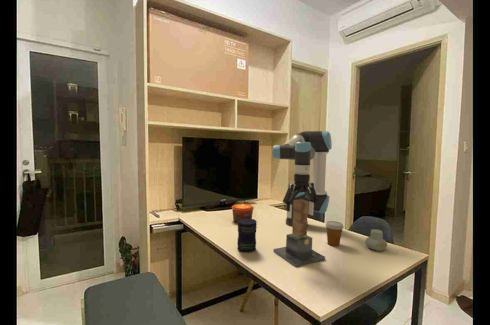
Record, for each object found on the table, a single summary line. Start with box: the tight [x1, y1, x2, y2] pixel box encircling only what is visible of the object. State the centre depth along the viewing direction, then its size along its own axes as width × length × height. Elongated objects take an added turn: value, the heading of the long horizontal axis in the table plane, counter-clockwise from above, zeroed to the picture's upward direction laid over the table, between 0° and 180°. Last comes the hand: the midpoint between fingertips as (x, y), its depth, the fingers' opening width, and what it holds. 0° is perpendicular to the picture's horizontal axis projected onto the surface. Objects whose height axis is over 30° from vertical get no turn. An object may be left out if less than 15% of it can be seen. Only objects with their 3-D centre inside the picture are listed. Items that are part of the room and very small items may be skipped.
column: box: [291, 199, 309, 239], centre depth 128 cm, size 5×5×20 cm
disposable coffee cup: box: [325, 220, 344, 247], centre depth 145 cm, size 10×10×12 cm
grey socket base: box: [273, 233, 326, 268], centre depth 129 cm, size 18×18×10 cm
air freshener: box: [364, 228, 388, 252], centre depth 141 cm, size 11×8×10 cm
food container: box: [231, 203, 255, 224], centre depth 185 cm, size 16×16×11 cm
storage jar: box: [236, 218, 257, 254], centre depth 136 cm, size 10×10×15 cm
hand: (300, 216), depth 128 cm, fingers open, 13 cm apart
